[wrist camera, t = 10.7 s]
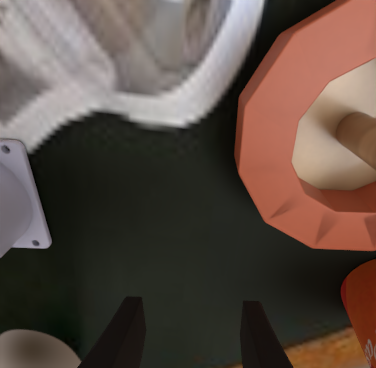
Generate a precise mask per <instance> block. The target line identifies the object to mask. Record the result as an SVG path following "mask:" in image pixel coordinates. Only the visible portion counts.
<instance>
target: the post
mask: <svg viewBox="0 0 376 368" xmlns="http://www.w3.org/2000/svg"><path fill="white" fill-rule="evenodd" d="M292 164H293V167H294V169H295V171H296V173H297V176H298V177H299V178H301V179H302V180H304V181H306V182H307V183H309V184H311V185H312V186H314V187H316V188H317V189H320V190H352V191H353V190H355V189H358V188H360V187H363V186H365V185H368V184H370V183H373V182H375V181H376V58H375V59H373V60H371V61H369V62H367V63H365V64H363V65H361V66H359V67H357V68H355V69H353V70H352V71H350V72H348V73H346V74H344V75H342V76H340V77H338V78H336V79H334V80H332V81H330V82H329V83H328V85H327V86H326V87H325V88H324V90H323V91H322V92H321V94H320V95H319V96H318V97H317V99H316V100H315V101H314V102H313V104H312V105H311V106H310V108H309V109H308V110H307V111H306V113H305V114H304V115H303V116H302V118H301V119H300V120H299V123H298V129H297V134H296V140H295V145H294V151H293V156H292Z"/></svg>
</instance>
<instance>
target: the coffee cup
mask: <svg viewBox="0 0 376 368" xmlns="http://www.w3.org/2000/svg"><path fill="white" fill-rule="evenodd" d="M341 298H342V301H343V304H344V306H345V309H346V311H347V314H348V316H349V319H350V321H351V324H352V326H353V328H354V331H355V333H356V335H357V338H358V340H359V342H360V344H361V347H362V349H363V351H364V354H365V356H366V358H367V361H368V363H369V365H370V368H376V259H373V260H371V261H368V262H366V263H364V264H362V265H360V266H358V267H357V268H355V269H354V270H353V271H352V272H351V273H350V274H349V275H348V276H347V277H346V278H345V280H344V282H343V284H342V286H341Z"/></svg>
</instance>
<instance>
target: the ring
mask: <svg viewBox="0 0 376 368" xmlns="http://www.w3.org/2000/svg"><path fill="white" fill-rule="evenodd" d="M375 58H376V0H336V1H334V2H333V3H331V4H329V5H328V6H326V7H324V8H322V9H321V10H319V11H317V12H316V13H314V14H312V15H311V16H309V17H307V18H306V19H304V20H302V21H301V22H299V23H297V24H296V25H294V26H292V27H291V28H289V29H287V30H286V31H284V32H282V33H281V34H280V35H279V36H278V37H277V39H276V40H275V42H274V43H273V45H272V46H271V48H270V49H269V51H268V53H267V54H266V56H265V57H264V59H263V60H262V62H261V63H260V65H259V66H258V68H257V70H256V71H255V73H254V74H253V76H252V77H251V79H250V80H249V82H248V83H247V85H246V86H245V88H244V90H243V91H242V93H241V94H240V96H239V102H238V114H237V126H236V139H235V151H234V157H235V161H236V165H237V170H238V174H239V176H240V178H241V179H242V181H243V183H244V185H245V187H246V189H247V191H248V192H249V194H250V196H251V198H252V200H253V202H254V204H255V205H256V207H257V209H258V211H259V213H260V215H261V216H262V218H263V220H264V221H265V222H266V223H267V224H269V225H271V226H273V227H275V228H276V229H278V230H280V231H282V232H284V233H286V234H287V235H289V236H291V237H293V238H295V239H296V240H298V241H300V242H302V243H304V244H306V245H307V246H309V247H311V248H313V249H336V250H359V251H375V250H376V181H375V182H373V183H370V184H368V185H365V186H363V187H360V188H358V189H355V190H353V191H352V190H320V189H317V188H316V187H314V186H312V185H311V184H309V183H307V182H306V181H304V180H302V179H301V178H299V177H298V176H297V173H296V171H295V169H294V167H293V164H292V156H293V151H294V145H295V140H296V134H297V129H298V123H299V120H300V119H301V118H302V116H303V115H304V114H305V113H306V111H307V110H308V109H309V108H310V106H311V105H312V104H313V102H314V101H315V100H316V99H317V97H318V96H319V95H320V94H321V92H322V91H323V90H324V88H325V87H326V86H327V85H328V83H329V82H330V81H332V80H334V79H336V78H338V77H340V76H342V75H344V74H346V73H348V72H350V71H352V70H353V69H355V68H357V67H359V66H361V65H363V64H365V63H367V62H369V61H371V60H373V59H375Z"/></svg>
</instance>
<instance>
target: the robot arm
mask: <svg viewBox="0 0 376 368" xmlns="http://www.w3.org/2000/svg"><path fill="white" fill-rule="evenodd" d="M5 146H7V147H8V148H9V149H10V151H8V150H7V149H6V147H5ZM37 241H38V242H37ZM51 243H52V240H51V236H50V233H49V229H48V226H47V222H46V219H45V215H44V212H43V209H42V205H41V202H40V198H39V195H38V191H37V188H36V184H35V181H34V177H33V174H32V170H31V167H30V164H29V160H28V157H27V153H26V150H25V147H24V145H23V144H22V143H21V142H20V141H18V140H0V258H1V257H2V256H3V255H4V254H5V253H6V252H7V251H8V250H9V249H10V248H11V247H19V248H48V247H49V246H50V245H51ZM145 334H146V326H145V318H144V311H143V303H142V297H126V298H125V299H124V300H123V302H122V304H121V306H120V307H119V309H118V311H117V312H116V314H115V315H114V317H113V318H112V320H111V322H110V323H109V325H108V326H107V328H106V329H105V331H104V332H103V333H102V335H101V336H100V338H99V339H98V341H97V342H96V343H95V345H94V346H93V348H92V349H91V350H90V352H89V353H88V354H87V356H86V357H85V358H84V360H83V361H82V362H81V363H80V365H79V366H78V367H77V368H139V366H140V362H141V358H142V353H143V347H144V341H145ZM240 341H241V354H242V364H243V368H293V366H292V364H291V362H290V361H289V359H288V357H287V355H286V354H285V352H284V350H283V348H282V346H281V345H280V343H279V341H278V339H277V337H276V335H275V333H274V331H273V329H272V327H271V325H270V323H269V321H268V318H267V316H266V314H265V312H264V309H263V307H262V304H261V303H260V302H259V301H243V309H242V319H241V329H240Z"/></svg>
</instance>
